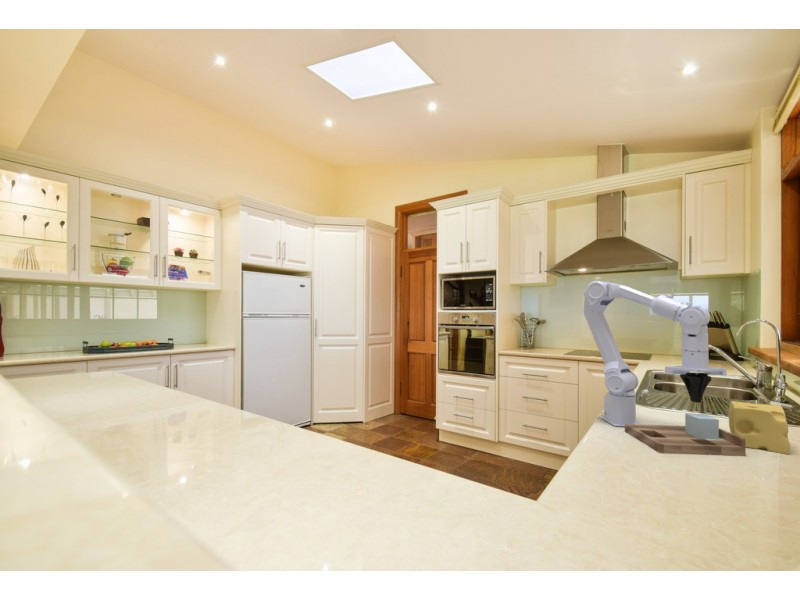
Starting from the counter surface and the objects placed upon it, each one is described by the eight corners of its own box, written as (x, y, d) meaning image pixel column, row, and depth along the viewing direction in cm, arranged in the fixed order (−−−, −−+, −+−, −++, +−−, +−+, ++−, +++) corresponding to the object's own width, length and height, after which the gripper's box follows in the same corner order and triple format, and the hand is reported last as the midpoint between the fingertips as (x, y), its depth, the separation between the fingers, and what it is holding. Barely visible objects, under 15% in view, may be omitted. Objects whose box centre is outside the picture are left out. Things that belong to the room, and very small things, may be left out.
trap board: (624, 431, 111) (624, 417, 111) (696, 433, 110) (696, 419, 110) (659, 452, 94) (659, 436, 94) (745, 455, 93) (745, 438, 93)
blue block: (685, 432, 104) (685, 413, 104) (705, 433, 103) (705, 414, 103) (697, 438, 99) (697, 418, 99) (718, 439, 98) (718, 419, 98)
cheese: (790, 455, 93) (789, 413, 94) (731, 445, 100) (730, 406, 100) (782, 443, 102) (781, 405, 102) (728, 435, 108) (728, 399, 108)
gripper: (675, 352, 102) (676, 404, 102) (735, 353, 101) (735, 406, 101) (660, 349, 109) (660, 398, 109) (715, 350, 108) (715, 399, 108)
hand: (695, 401), depth 105 cm, fingers closed
